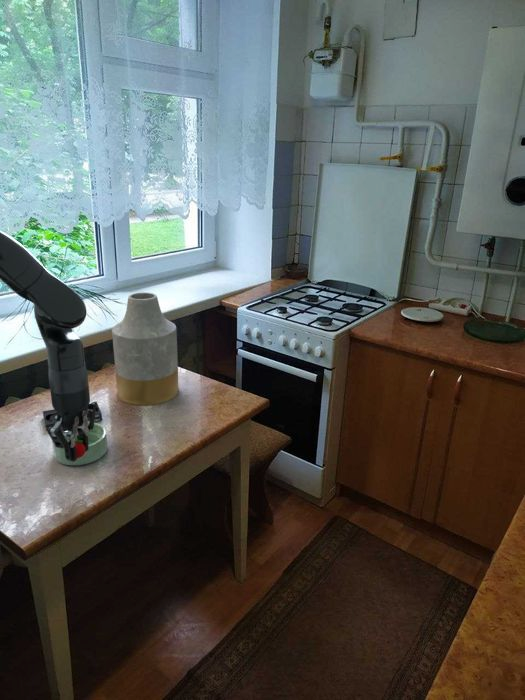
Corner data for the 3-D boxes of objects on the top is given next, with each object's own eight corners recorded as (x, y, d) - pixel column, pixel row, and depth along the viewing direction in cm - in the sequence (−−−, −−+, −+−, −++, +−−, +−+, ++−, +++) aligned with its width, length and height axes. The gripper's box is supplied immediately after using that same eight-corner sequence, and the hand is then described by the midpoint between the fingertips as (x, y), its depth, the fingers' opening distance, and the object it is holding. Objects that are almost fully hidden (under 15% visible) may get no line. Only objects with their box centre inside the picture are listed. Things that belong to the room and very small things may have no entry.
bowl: (88, 471, 114) (86, 453, 112) (43, 461, 117) (40, 443, 115) (117, 444, 125) (115, 426, 123) (75, 435, 128) (73, 418, 126)
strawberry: (77, 460, 106) (80, 442, 106) (63, 457, 107) (66, 439, 107) (87, 458, 110) (90, 441, 110) (73, 455, 111) (76, 438, 111)
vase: (104, 395, 149) (94, 298, 138) (145, 374, 164) (140, 284, 153) (151, 411, 141) (145, 309, 130) (190, 387, 156) (188, 293, 145)
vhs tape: (46, 431, 129) (45, 424, 129) (43, 417, 136) (42, 411, 135) (102, 420, 136) (101, 413, 135) (97, 407, 142) (96, 401, 141)
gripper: (75, 369, 110) (83, 436, 116) (29, 395, 97) (41, 469, 104) (104, 374, 108) (110, 442, 114) (62, 401, 95) (71, 476, 102)
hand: (77, 454), depth 109 cm, fingers closed on strawberry, 3 cm apart
